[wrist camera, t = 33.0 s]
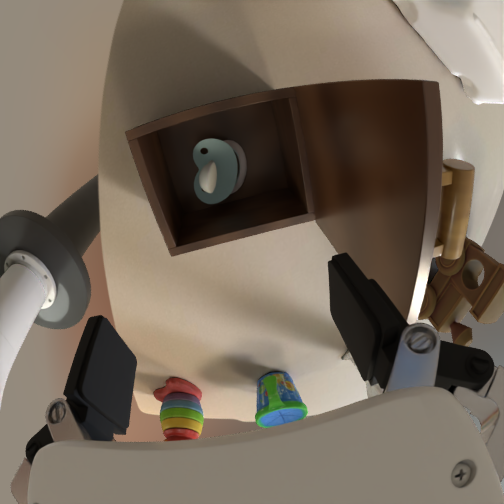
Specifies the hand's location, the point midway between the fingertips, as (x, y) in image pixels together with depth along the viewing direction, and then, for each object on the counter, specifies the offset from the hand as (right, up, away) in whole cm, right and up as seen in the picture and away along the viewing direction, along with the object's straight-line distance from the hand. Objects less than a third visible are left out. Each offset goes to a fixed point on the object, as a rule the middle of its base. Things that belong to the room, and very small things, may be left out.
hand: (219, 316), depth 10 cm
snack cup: (+6, -25, +45) cm, 52 cm away
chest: (-2, +14, +20) cm, 24 cm away
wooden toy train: (+39, -1, +35) cm, 53 cm away
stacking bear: (-15, -29, +44) cm, 55 cm away
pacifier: (-2, +12, +20) cm, 23 cm away
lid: (+7, +7, +5) cm, 11 cm away
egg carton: (+30, +39, +9) cm, 50 cm away
